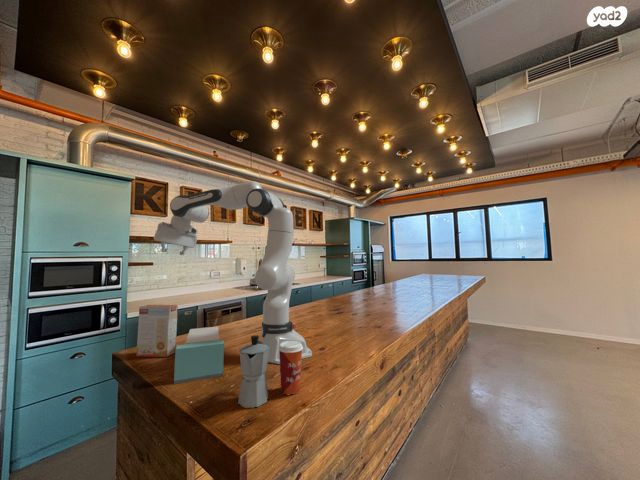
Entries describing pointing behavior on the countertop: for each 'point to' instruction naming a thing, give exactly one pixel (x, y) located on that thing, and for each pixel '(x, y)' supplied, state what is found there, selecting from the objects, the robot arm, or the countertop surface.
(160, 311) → the cracker box
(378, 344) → the countertop surface
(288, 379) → the paper cup
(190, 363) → the rectangular block
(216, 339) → the stone slab
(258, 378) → the coffee maker
